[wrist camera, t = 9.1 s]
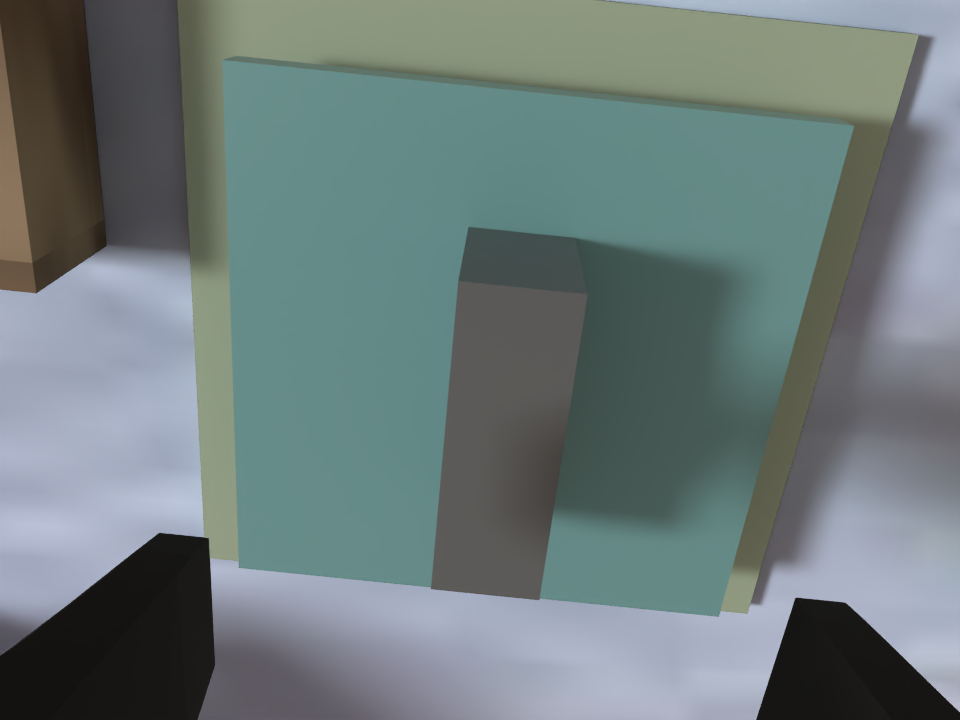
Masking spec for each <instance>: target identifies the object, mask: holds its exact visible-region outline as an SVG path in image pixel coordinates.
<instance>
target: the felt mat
mask: <svg viewBox="0 0 960 720" xmlns="http://www.w3.org/2000/svg"><path fill="white" fill-rule="evenodd" d="M177 8H178V27H179V47H180V67H181V87H182V106H183V126H184V146H185V165H186V185H187V205H188V225H189V244H190V264H191V284H192V303H193V323H194V343H195V363H196V382H197V402H198V422H199V441H200V461H201V481H202V501H203V520H204V538H209V550H210V558H215V559H224V560H234V561H239V555H238V525H237V494H236V463H235V433H234V402H233V371H232V341H231V310H230V280H229V249H228V218H227V188H226V157H225V126H224V96H223V65H222V60H224V59H227V58H231V57H234V56H244V57H253V58H263V59H273V60H282V61H292V62H301V63H311V64H321V65H330V66H340V67H350V68H359V69H369V70H378V71H388V72H398V73H407V74H417V75H426V76H436V77H446V78H455V79H465V80H474V81H484V82H494V83H503V84H513V85H522V86H532V87H542V88H551V89H561V90H571V91H580V92H590V93H599V94H609V95H619V96H628V97H638V98H647V99H657V100H667V101H676V102H686V103H695V104H705V105H715V106H724V107H734V108H743V109H753V110H763V111H772V112H782V113H791V114H801V115H811V116H820V117H830V118H839V119H841V120H843V121H845V122H847V123H849V124H851V125H854V128H853V132H852V135H851V139H850V143H849V146H848V150H847V154H846V157H845V161H844V164H843V168H842V172H841V175H840V179H839V183H838V186H837V190H836V193H835V197H834V201H833V204H832V208H831V212H830V215H829V219H828V222H827V226H826V230H825V233H824V237H823V241H822V244H821V248H820V251H819V255H818V259H817V262H816V266H815V270H814V273H813V277H812V280H811V284H810V288H809V291H808V295H807V299H806V302H805V306H804V309H803V313H802V317H801V320H800V324H799V328H798V331H797V335H796V338H795V342H794V346H793V349H792V353H791V357H790V360H789V364H788V367H787V371H786V375H785V378H784V382H783V386H782V389H781V393H780V396H779V400H778V404H777V407H776V411H775V415H774V418H773V422H772V425H771V429H770V433H769V436H768V440H767V444H766V447H765V451H764V454H763V458H762V462H761V465H760V469H759V473H758V476H757V480H756V483H755V487H754V491H753V494H752V498H751V502H750V505H749V509H748V512H747V516H746V520H745V523H744V527H743V530H742V534H741V538H740V541H739V545H738V549H737V552H736V556H735V559H734V563H733V567H732V570H731V574H730V578H729V581H728V585H727V588H726V592H725V596H724V599H723V603H722V607H721V610H720V611H726V612H736V613H746V614H747V613H748V610H749V606H750V603H751V600H752V596H753V593H754V589H755V586H756V583H757V579H758V576H759V573H760V569H761V566H762V563H763V559H764V556H765V552H766V549H767V546H768V542H769V539H770V536H771V532H772V529H773V525H774V522H775V519H776V515H777V512H778V509H779V505H780V502H781V498H782V495H783V492H784V488H785V485H786V482H787V478H788V475H789V471H790V468H791V465H792V461H793V458H794V455H795V451H796V448H797V445H798V441H799V438H800V434H801V431H802V428H803V424H804V421H805V418H806V414H807V411H808V407H809V404H810V401H811V397H812V394H813V391H814V387H815V384H816V380H817V377H818V374H819V370H820V367H821V364H822V360H823V357H824V353H825V350H826V347H827V343H828V340H829V337H830V333H831V330H832V326H833V323H834V320H835V316H836V313H837V310H838V306H839V303H840V300H841V296H842V293H843V289H844V286H845V283H846V279H847V276H848V273H849V269H850V266H851V262H852V259H853V256H854V252H855V249H856V246H857V242H858V239H859V235H860V232H861V229H862V225H863V222H864V219H865V215H866V212H867V208H868V205H869V202H870V198H871V195H872V192H873V188H874V185H875V181H876V178H877V175H878V171H879V168H880V165H881V161H882V158H883V155H884V151H885V148H886V144H887V141H888V138H889V134H890V131H891V128H892V124H893V121H894V117H895V114H896V111H897V107H898V104H899V101H900V97H901V94H902V90H903V87H904V84H905V80H906V77H907V74H908V70H909V67H910V63H911V60H912V57H913V53H914V50H915V47H916V43H917V40H918V37H919V35H917V34H911V33H902V32H893V31H883V30H874V29H865V28H855V27H846V26H836V25H827V24H818V23H808V22H799V21H790V20H780V19H771V18H762V17H752V16H743V15H733V14H724V13H715V12H705V11H696V10H687V9H677V8H668V7H658V6H649V5H640V4H630V3H621V2H612V1H602V0H177Z"/></svg>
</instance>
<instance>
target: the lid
mask: <svg viewBox="0 0 960 720" xmlns="http://www.w3.org/2000/svg"><path fill="white" fill-rule="evenodd" d="M222 65H223V96H224V126H225V157H226V188H227V218H228V249H229V280H230V310H231V341H232V371H233V402H234V433H235V463H236V494H237V525H238V555H239V568H247V569H256V570H266V571H276V572H286V573H296V574H305V575H315V576H325V577H335V578H345V579H354V580H364V581H374V582H384V583H394V584H403V585H413V586H423V587H431V589H436V590H445V591H455V592H465V593H475V594H485V595H495V596H504V597H514V598H524V599H534V600H539V599H540V598H541V599H551V600H560V601H570V602H580V603H590V604H600V605H609V606H619V607H629V608H639V609H649V610H659V611H668V612H678V613H688V614H698V615H708V616H717V617H719V614H720V610H721V607H722V603H723V599H724V596H725V592H726V588H727V585H728V581H729V578H730V574H731V570H732V567H733V563H734V559H735V556H736V552H737V549H738V545H739V541H740V538H741V534H742V530H743V527H744V523H745V520H746V516H747V512H748V509H749V505H750V502H751V498H752V494H753V491H754V487H755V483H756V480H757V476H758V473H759V469H760V465H761V462H762V458H763V454H764V451H765V447H766V444H767V440H768V436H769V433H770V429H771V425H772V422H773V418H774V415H775V411H776V407H777V404H778V400H779V396H780V393H781V389H782V386H783V382H784V378H785V375H786V371H787V367H788V364H789V360H790V357H791V353H792V349H793V346H794V342H795V338H796V335H797V331H798V328H799V324H800V320H801V317H802V313H803V309H804V306H805V302H806V299H807V295H808V291H809V288H810V284H811V280H812V277H813V273H814V270H815V266H816V262H817V259H818V255H819V251H820V248H821V244H822V241H823V237H824V233H825V230H826V226H827V222H828V219H829V215H830V212H831V208H832V204H833V201H834V197H835V193H836V190H837V186H838V183H839V179H840V175H841V172H842V168H843V164H844V161H845V157H846V154H847V150H848V146H849V143H850V139H851V135H852V132H853V128H854V125H851V124H849V123H847V122H845V121H843V120H841V119H839V118H830V117H820V116H811V115H801V114H791V113H782V112H772V111H763V110H753V109H743V108H734V107H724V106H715V105H705V104H695V103H686V102H676V101H667V100H657V99H647V98H638V97H628V96H619V95H609V94H599V93H590V92H580V91H571V90H561V89H551V88H542V87H532V86H522V85H513V84H503V83H494V82H484V81H474V80H465V79H455V78H446V77H436V76H426V75H417V74H407V73H398V72H388V71H378V70H369V69H359V68H350V67H340V66H330V65H321V64H311V63H301V62H292V61H282V60H273V59H263V58H253V57H244V56H234V57H231V58H227V59H224V60H222Z"/></svg>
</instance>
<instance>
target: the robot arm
mask: <svg viewBox="0 0 960 720" xmlns="http://www.w3.org/2000/svg"><path fill="white" fill-rule="evenodd" d="M214 666H215V657H214V635H213V614H212V593H211V571H210V550H209V538H204V537H194V536H184V535H174V534H164V533H159V534H157V535H156V536H155V537H154V538H152V539H151V540H150V541H148V542H147V543H146V544H144V545H143V546H142V547H140V548H139V549H138V550H136V551H135V552H134V553H133V554H131V555H130V556H129V557H128V558H126V559H125V560H124V561H123V562H121V563H120V564H119V565H117V566H116V567H115V568H114V569H112V570H111V571H110V572H109V573H107V574H106V575H105V576H104V577H102V578H101V579H100V580H99V581H97V582H96V583H95V584H94V585H92V586H91V587H90V588H89V589H87V590H86V591H85V592H84V593H82V594H81V595H80V596H78V597H77V598H76V599H75V600H73V601H72V602H71V603H70V604H68V605H67V606H66V607H64V608H63V609H62V610H61V611H59V612H58V613H57V614H55V615H54V616H53V617H51V618H50V619H49V620H47V621H46V622H45V623H43V624H42V625H41V626H40V627H38V628H37V629H36V630H34V631H33V632H32V633H30V634H29V635H28V636H26V637H25V638H24V639H22V640H21V641H20V642H19V643H17V644H16V645H15V646H13V647H12V648H11V649H9V650H8V651H7V652H5V653H4V654H2V655H1V656H0V720H197V719H198V716H199V713H200V710H201V707H202V704H203V701H204V698H205V695H206V691H207V688H208V685H209V682H210V679H211V676H212V672H213V669H214ZM756 720H960V712H959V711H958V710H957V709H956V708H955V707H953V706H952V705H951V704H950V703H949V702H948V701H947V700H946V699H945V698H944V697H943V696H942V695H941V694H940V693H939V692H938V691H937V690H936V689H935V688H934V687H933V686H932V685H931V684H930V683H929V682H928V681H927V680H926V679H925V678H924V677H923V676H922V675H921V674H920V673H918V672H917V671H916V670H915V669H914V668H913V667H912V666H911V665H910V664H909V663H908V662H907V661H906V660H905V659H904V658H903V657H902V656H901V655H900V654H899V653H898V652H897V651H896V650H895V649H894V648H893V647H892V646H891V645H890V644H889V643H888V642H887V641H886V640H885V639H884V638H883V637H882V636H881V635H880V634H879V633H877V632H876V631H875V630H874V629H873V628H872V627H871V626H870V625H869V624H868V623H867V622H866V621H865V620H864V619H863V618H862V617H861V616H860V615H858V614H857V613H856V612H855V611H854V610H853V609H852V608H851V607H850V606H848V605H847V604H846V603H843V602H833V601H824V600H814V599H804V598H795V601H794V604H793V608H792V611H791V614H790V617H789V620H788V623H787V626H786V629H785V632H784V635H783V639H782V642H781V645H780V648H779V651H778V654H777V657H776V660H775V663H774V666H773V670H772V673H771V676H770V679H769V682H768V685H767V688H766V691H765V694H764V697H763V701H762V704H761V707H760V710H759V713H758V716H757V719H756Z"/></svg>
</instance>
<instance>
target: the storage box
mask: <svg viewBox="0 0 960 720" xmlns="http://www.w3.org/2000/svg"><path fill="white" fill-rule="evenodd" d="M104 247H106V235H105V225H104V214H103V203H102V193H101V182H100V172H99V161H98V150H97V140H96V129H95V118H94V108H93V97H92V86H91V76H90V65H89V55H88V44H87V33H86V23H85V12H84V1H83V0H0V289H1V290H11V291H20V292H30V293H37V292H39V291H40V290H42V289H43V288H45V287H46V286H48V285H49V284H51V283H52V282H54V281H55V280H57V279H58V278H60V277H61V276H63V275H64V274H66V273H67V272H69V271H70V270H71V269H73V268H74V267H76V266H77V265H79V264H80V263H82V262H83V261H85V260H86V259H88V258H89V257H91V256H92V255H94V254H95V253H97V252H98V251H100V250H101V249H103V248H104Z"/></svg>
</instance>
